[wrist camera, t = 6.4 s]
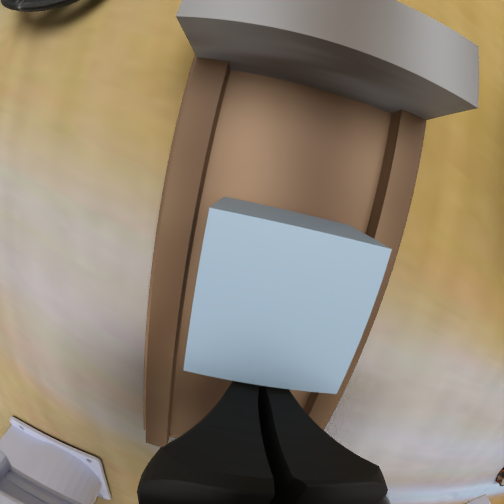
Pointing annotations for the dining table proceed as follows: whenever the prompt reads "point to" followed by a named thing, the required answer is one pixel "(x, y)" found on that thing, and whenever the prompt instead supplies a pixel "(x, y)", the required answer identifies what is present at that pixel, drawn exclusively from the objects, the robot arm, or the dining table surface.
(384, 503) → the supplement bottle
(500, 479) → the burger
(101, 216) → the dining table surface
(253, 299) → the plate
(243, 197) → the guide channel
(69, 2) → the milk frother
